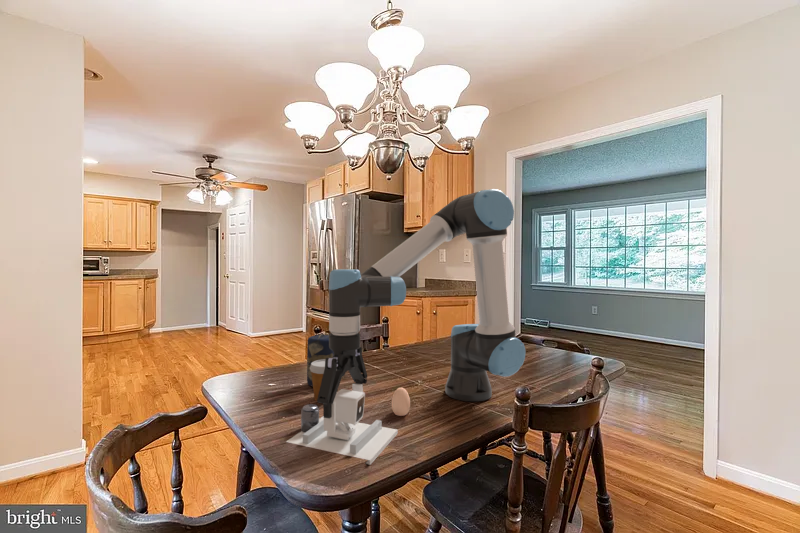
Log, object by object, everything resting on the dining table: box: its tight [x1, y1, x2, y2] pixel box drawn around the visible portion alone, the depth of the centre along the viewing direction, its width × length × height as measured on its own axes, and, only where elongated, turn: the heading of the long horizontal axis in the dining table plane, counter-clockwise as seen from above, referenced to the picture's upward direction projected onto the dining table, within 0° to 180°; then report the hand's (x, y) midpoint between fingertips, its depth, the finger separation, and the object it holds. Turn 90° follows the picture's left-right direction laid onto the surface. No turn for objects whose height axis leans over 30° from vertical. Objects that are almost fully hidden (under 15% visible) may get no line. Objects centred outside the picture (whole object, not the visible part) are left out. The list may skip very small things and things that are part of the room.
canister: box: [306, 333, 334, 387], centre depth 133 cm, size 10×10×18 cm
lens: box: [300, 403, 320, 433], centre depth 96 cm, size 4×4×6 cm
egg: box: [391, 387, 411, 417], centre depth 106 cm, size 5×5×8 cm
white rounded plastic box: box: [327, 388, 366, 440], centre depth 93 cm, size 6×7×10 cm
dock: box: [285, 416, 399, 466], centre depth 93 cm, size 22×16×3 cm
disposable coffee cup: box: [310, 359, 337, 402], centre depth 118 cm, size 10×10×12 cm
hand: (344, 419), depth 93 cm, fingers open, 13 cm apart
